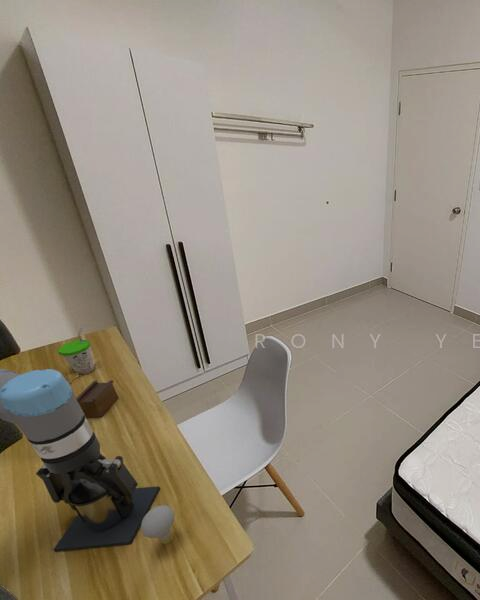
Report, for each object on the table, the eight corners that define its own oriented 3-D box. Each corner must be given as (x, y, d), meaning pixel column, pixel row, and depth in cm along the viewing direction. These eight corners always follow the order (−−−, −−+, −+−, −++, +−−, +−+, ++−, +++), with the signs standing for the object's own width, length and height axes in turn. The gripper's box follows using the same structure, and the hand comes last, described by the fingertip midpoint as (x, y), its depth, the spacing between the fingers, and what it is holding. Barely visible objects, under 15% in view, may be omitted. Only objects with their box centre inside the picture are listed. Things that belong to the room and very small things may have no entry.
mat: (55, 552, 66) (52, 549, 66) (95, 493, 77) (93, 491, 76) (131, 544, 68) (129, 541, 68) (160, 488, 79) (159, 486, 78)
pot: (118, 530, 69) (138, 495, 76) (101, 502, 65) (124, 467, 71) (77, 534, 68) (101, 498, 75) (57, 506, 63) (85, 470, 70)
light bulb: (158, 561, 66) (143, 534, 61) (147, 542, 69) (132, 515, 64) (187, 538, 70) (175, 511, 65) (176, 521, 73) (163, 494, 68)
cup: (74, 381, 108) (54, 344, 101) (67, 371, 112) (48, 334, 105) (103, 370, 113) (87, 334, 106) (96, 360, 117) (80, 325, 110)
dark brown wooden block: (84, 418, 95) (74, 399, 92) (102, 398, 102) (93, 380, 99) (104, 417, 96) (94, 399, 93) (120, 397, 103) (112, 379, 100)
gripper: (-15, 465, 56) (43, 537, 67) (114, 457, 59) (150, 527, 70) (23, 430, 63) (71, 500, 74) (137, 424, 66) (167, 493, 77)
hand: (109, 513), depth 72 cm, fingers closed on pot, 7 cm apart
